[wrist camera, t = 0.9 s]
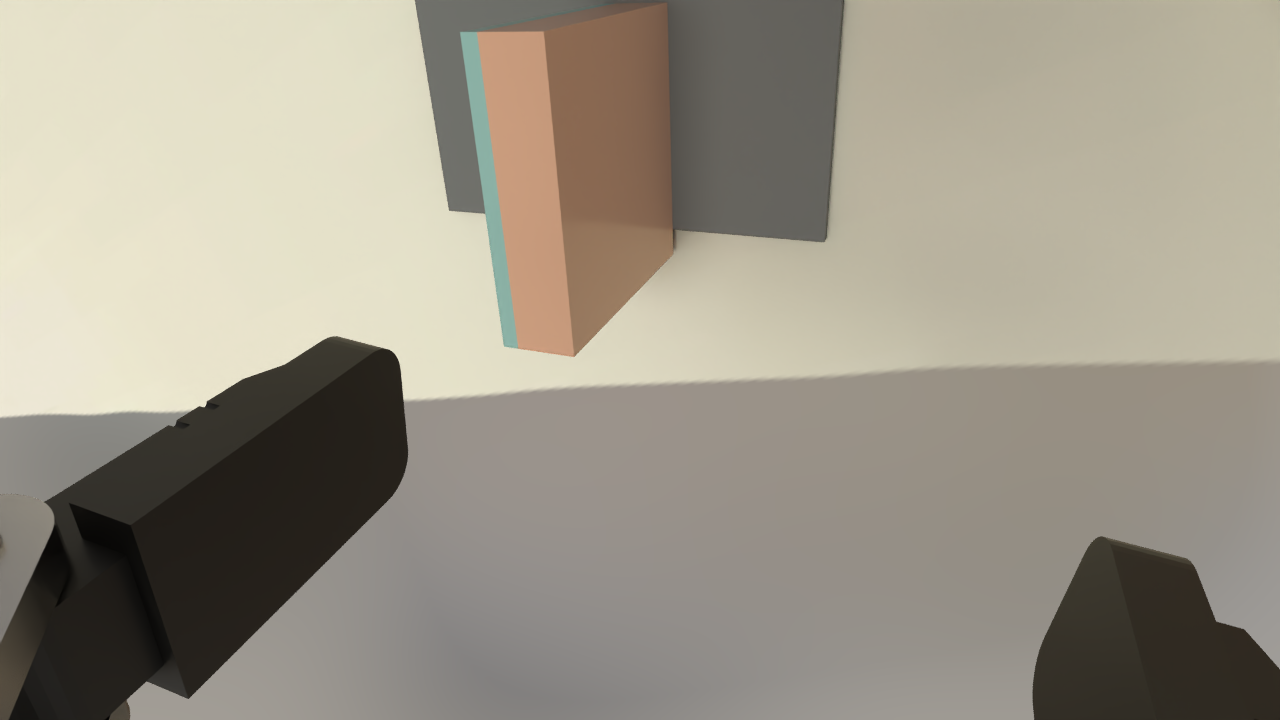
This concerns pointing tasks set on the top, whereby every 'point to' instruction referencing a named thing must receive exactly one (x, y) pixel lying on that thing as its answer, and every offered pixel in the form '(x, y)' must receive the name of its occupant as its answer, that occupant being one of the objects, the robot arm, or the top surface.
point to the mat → (690, 107)
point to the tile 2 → (572, 165)
